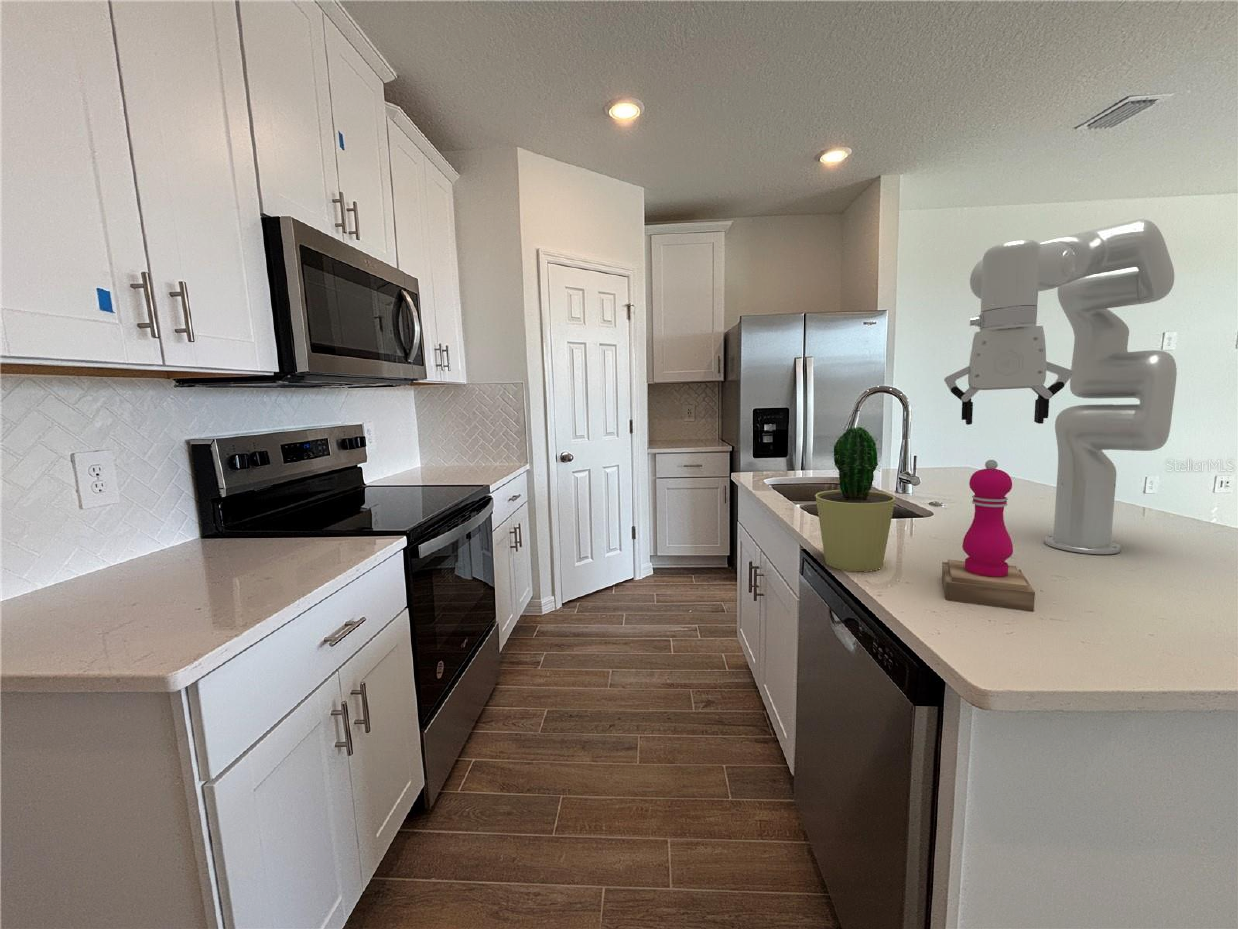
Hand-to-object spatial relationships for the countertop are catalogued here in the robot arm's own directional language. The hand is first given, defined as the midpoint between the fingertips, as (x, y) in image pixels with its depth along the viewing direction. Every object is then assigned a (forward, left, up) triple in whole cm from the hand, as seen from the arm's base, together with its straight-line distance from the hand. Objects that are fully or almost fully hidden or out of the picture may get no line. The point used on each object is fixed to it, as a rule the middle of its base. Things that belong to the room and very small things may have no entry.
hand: (1002, 423), depth 86 cm
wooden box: (+1, -2, -30) cm, 30 cm away
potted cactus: (-8, -24, -30) cm, 39 cm away
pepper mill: (+1, -1, -26) cm, 26 cm away
